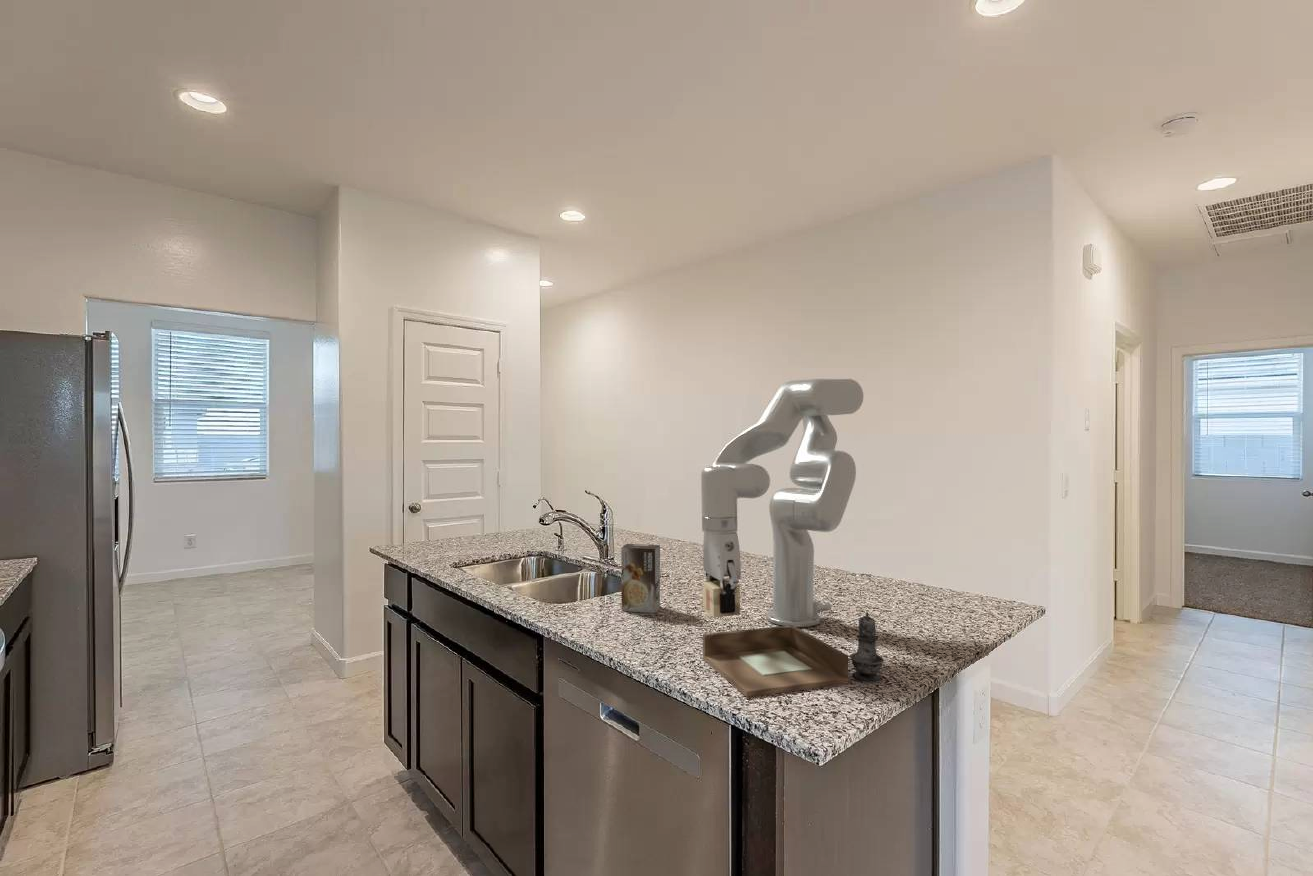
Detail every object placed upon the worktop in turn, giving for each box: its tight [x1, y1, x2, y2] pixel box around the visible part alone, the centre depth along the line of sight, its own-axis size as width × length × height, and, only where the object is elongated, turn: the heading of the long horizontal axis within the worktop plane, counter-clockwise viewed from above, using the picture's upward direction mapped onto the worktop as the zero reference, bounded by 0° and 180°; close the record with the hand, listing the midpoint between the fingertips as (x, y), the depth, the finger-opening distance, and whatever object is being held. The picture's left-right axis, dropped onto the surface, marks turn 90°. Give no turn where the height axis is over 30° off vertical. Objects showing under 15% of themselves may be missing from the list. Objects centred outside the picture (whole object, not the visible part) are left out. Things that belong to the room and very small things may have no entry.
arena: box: [702, 625, 849, 698], centre depth 118 cm, size 20×19×5 cm
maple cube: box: [701, 580, 741, 618], centre depth 134 cm, size 6×6×6 cm
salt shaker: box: [849, 611, 885, 684], centre depth 115 cm, size 6×6×12 cm
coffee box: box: [620, 543, 661, 614], centre depth 160 cm, size 9×6×16 cm
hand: (720, 607), depth 134 cm, fingers closed on maple cube, 6 cm apart
